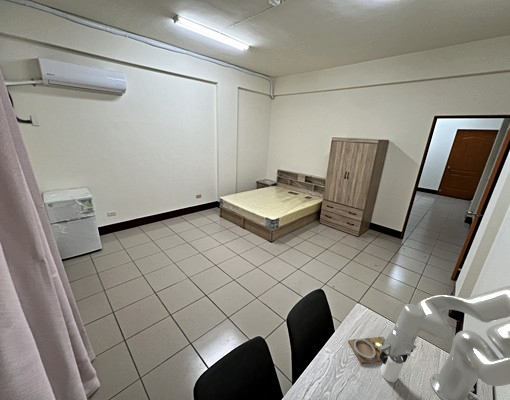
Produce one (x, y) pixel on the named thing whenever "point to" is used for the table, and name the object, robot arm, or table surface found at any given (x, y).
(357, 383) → the table surface
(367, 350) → the gear board
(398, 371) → the can
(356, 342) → the ring
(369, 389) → the table surface
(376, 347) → the gear
